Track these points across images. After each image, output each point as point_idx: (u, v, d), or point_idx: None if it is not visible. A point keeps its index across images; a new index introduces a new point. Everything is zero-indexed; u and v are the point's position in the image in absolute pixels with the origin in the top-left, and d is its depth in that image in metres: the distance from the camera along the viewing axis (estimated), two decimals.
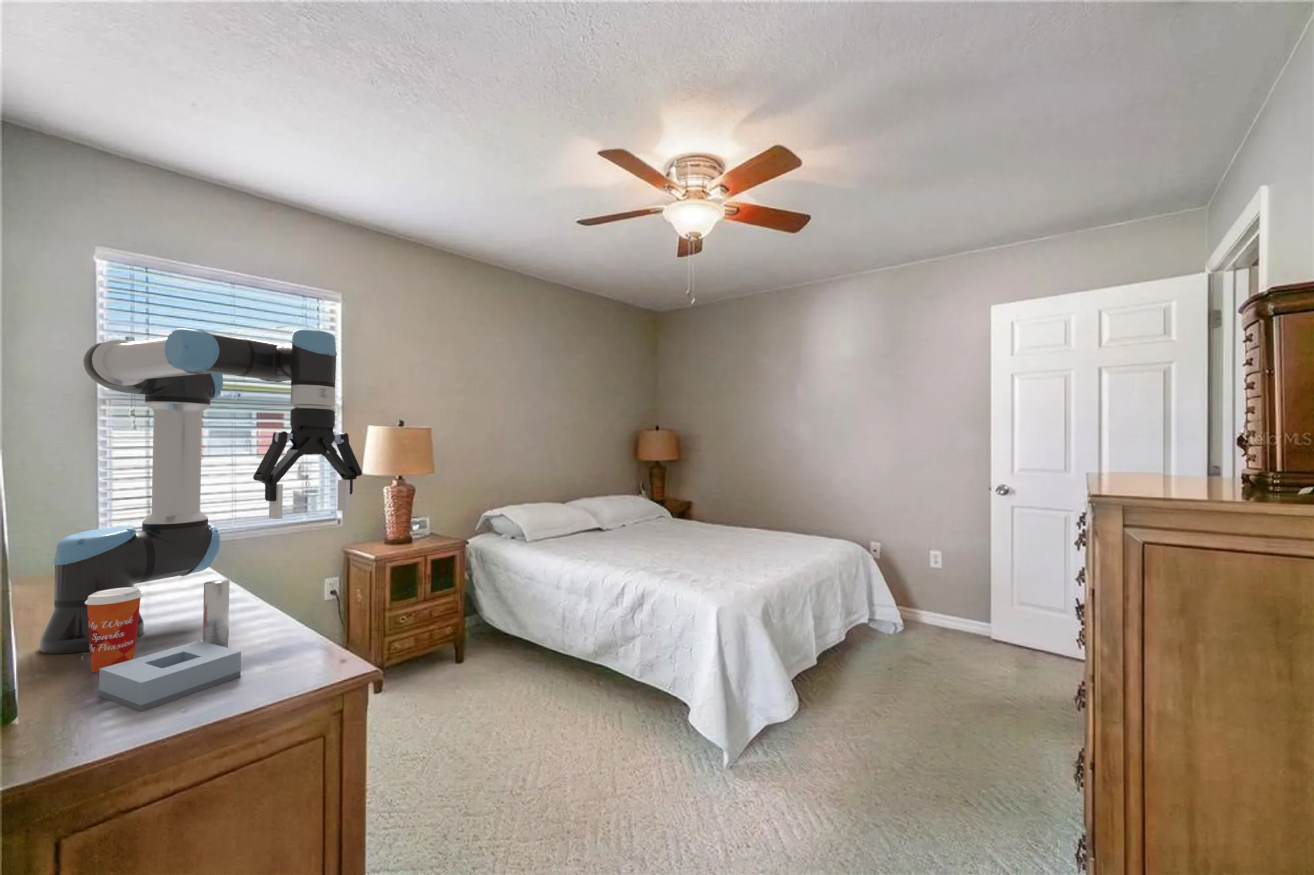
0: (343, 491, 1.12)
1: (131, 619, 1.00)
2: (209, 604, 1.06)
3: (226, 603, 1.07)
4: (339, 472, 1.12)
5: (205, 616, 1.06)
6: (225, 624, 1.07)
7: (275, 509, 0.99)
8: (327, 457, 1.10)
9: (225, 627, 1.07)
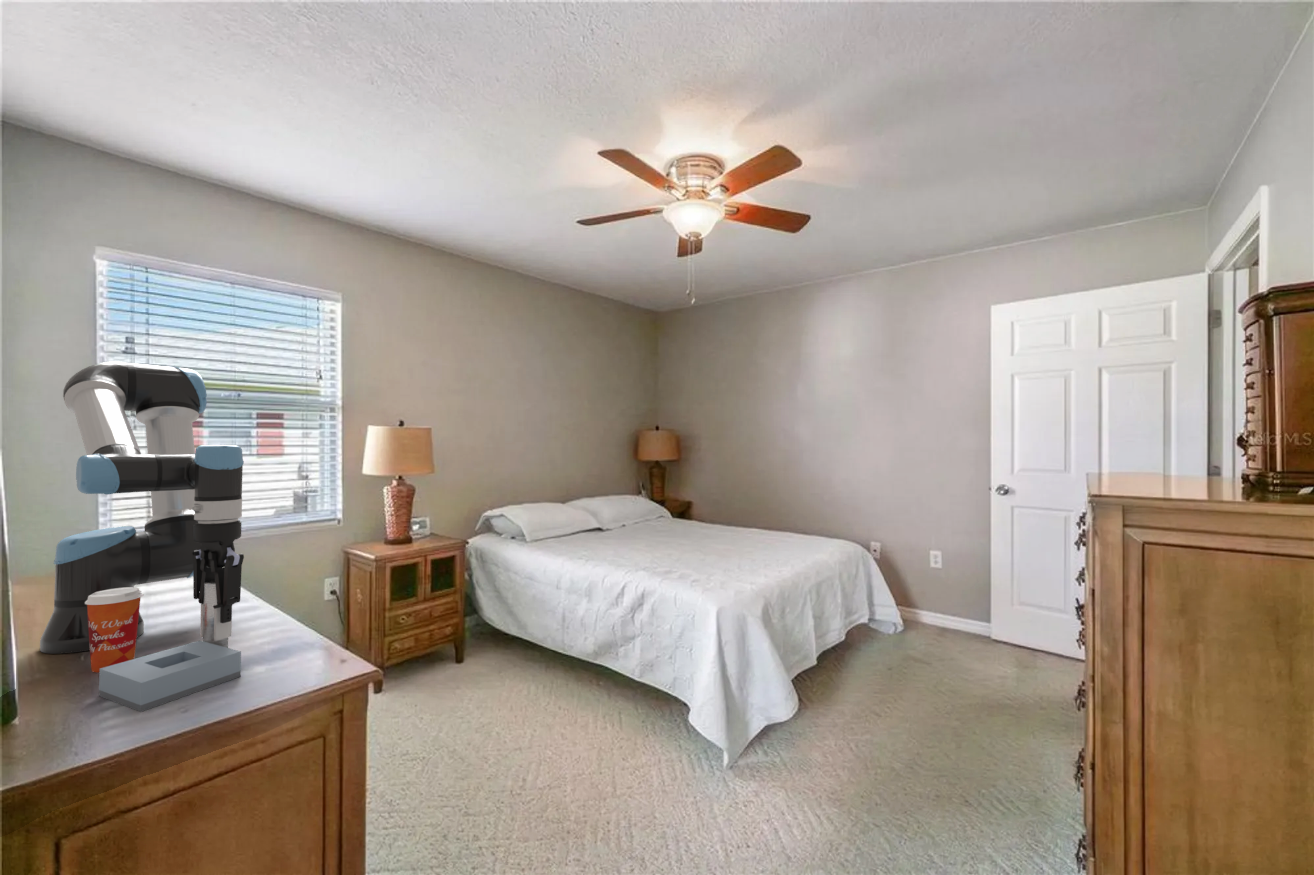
0: None
1: (130, 619, 1.00)
2: (209, 603, 1.06)
3: None
4: None
5: (205, 616, 1.06)
6: None
7: None
8: None
9: None
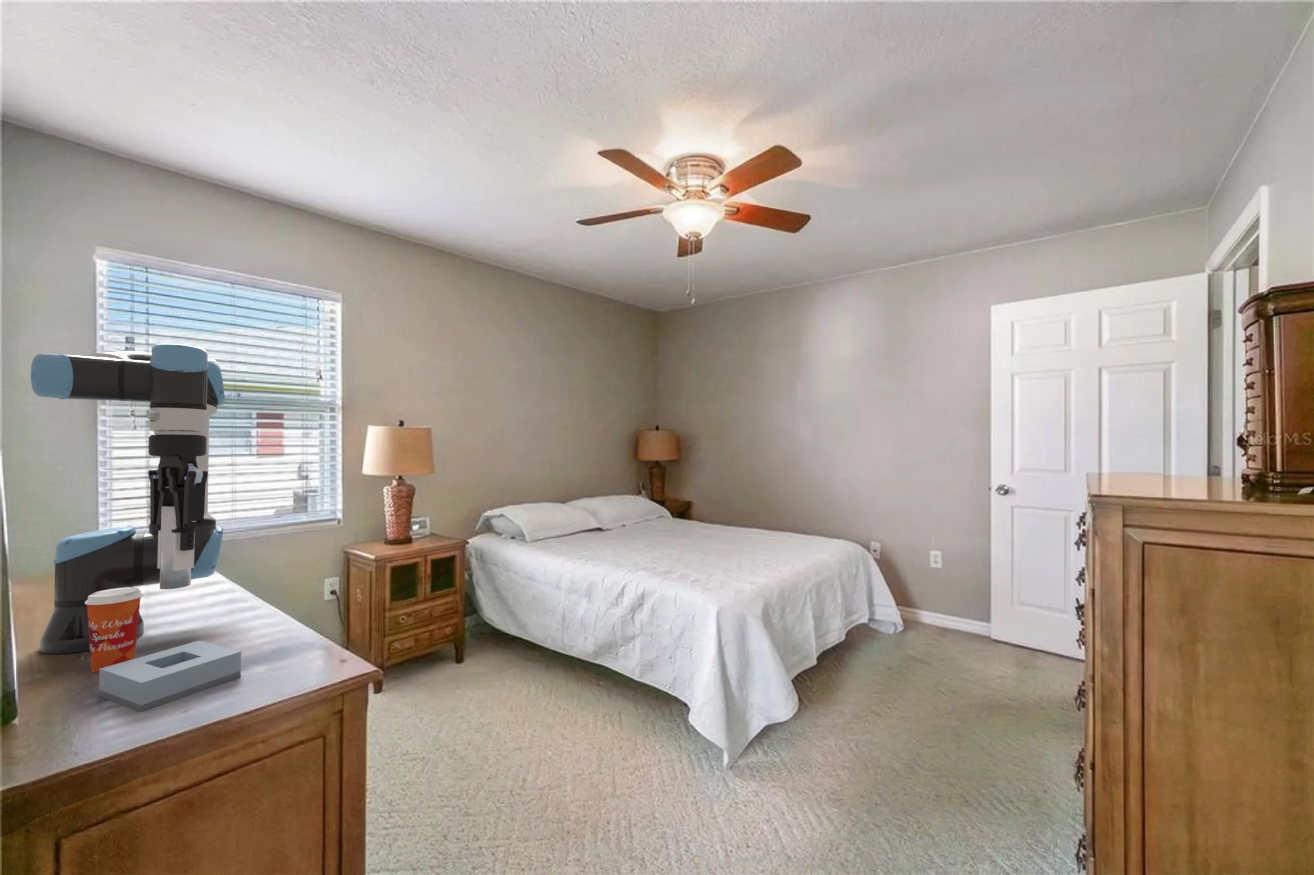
0: None
1: (130, 619, 1.00)
2: (167, 529, 0.91)
3: None
4: None
5: (162, 544, 0.91)
6: None
7: None
8: None
9: None
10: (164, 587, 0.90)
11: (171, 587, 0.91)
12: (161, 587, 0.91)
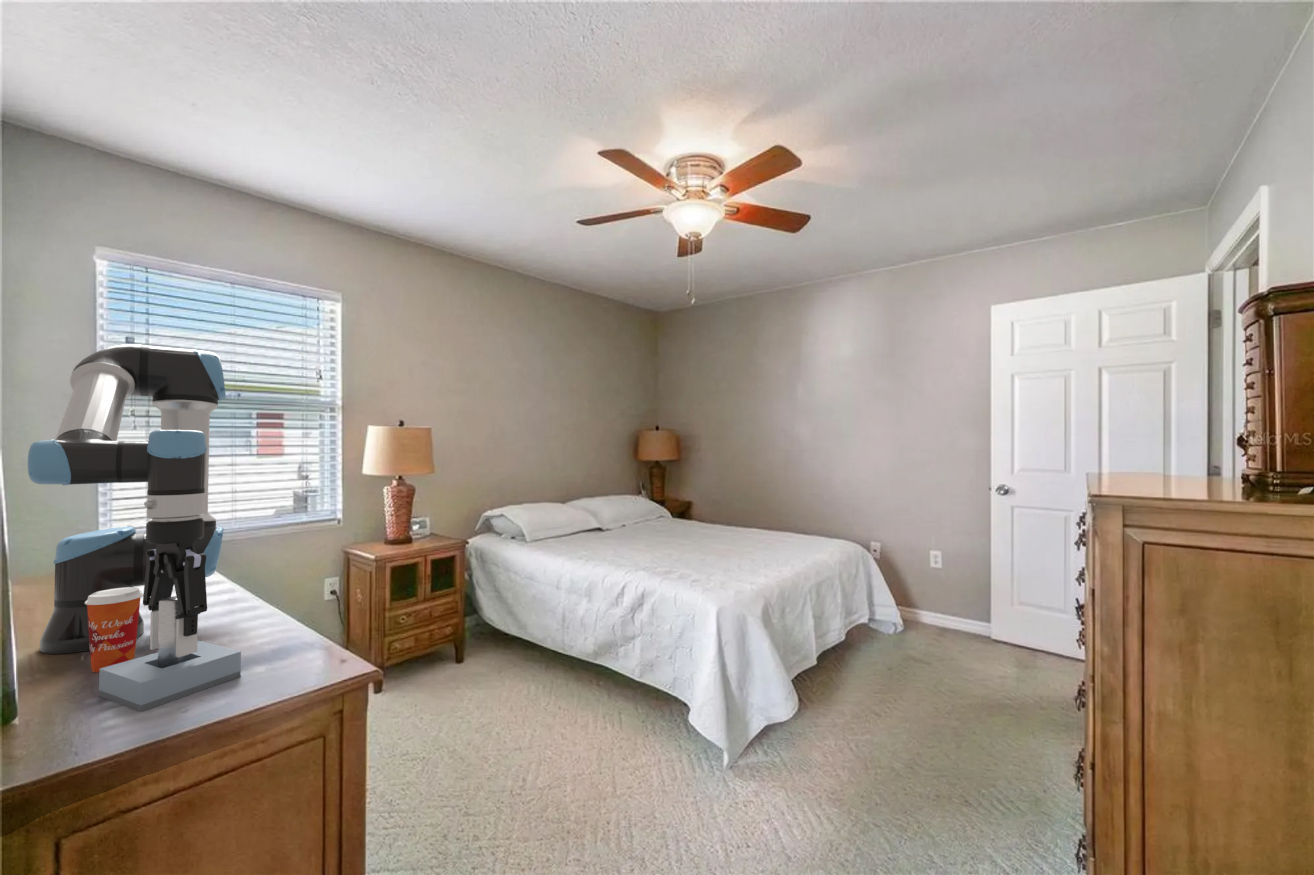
0: None
1: (130, 619, 1.00)
2: (165, 625, 0.90)
3: None
4: None
5: (160, 639, 0.90)
6: None
7: None
8: None
9: None
10: None
11: None
12: None
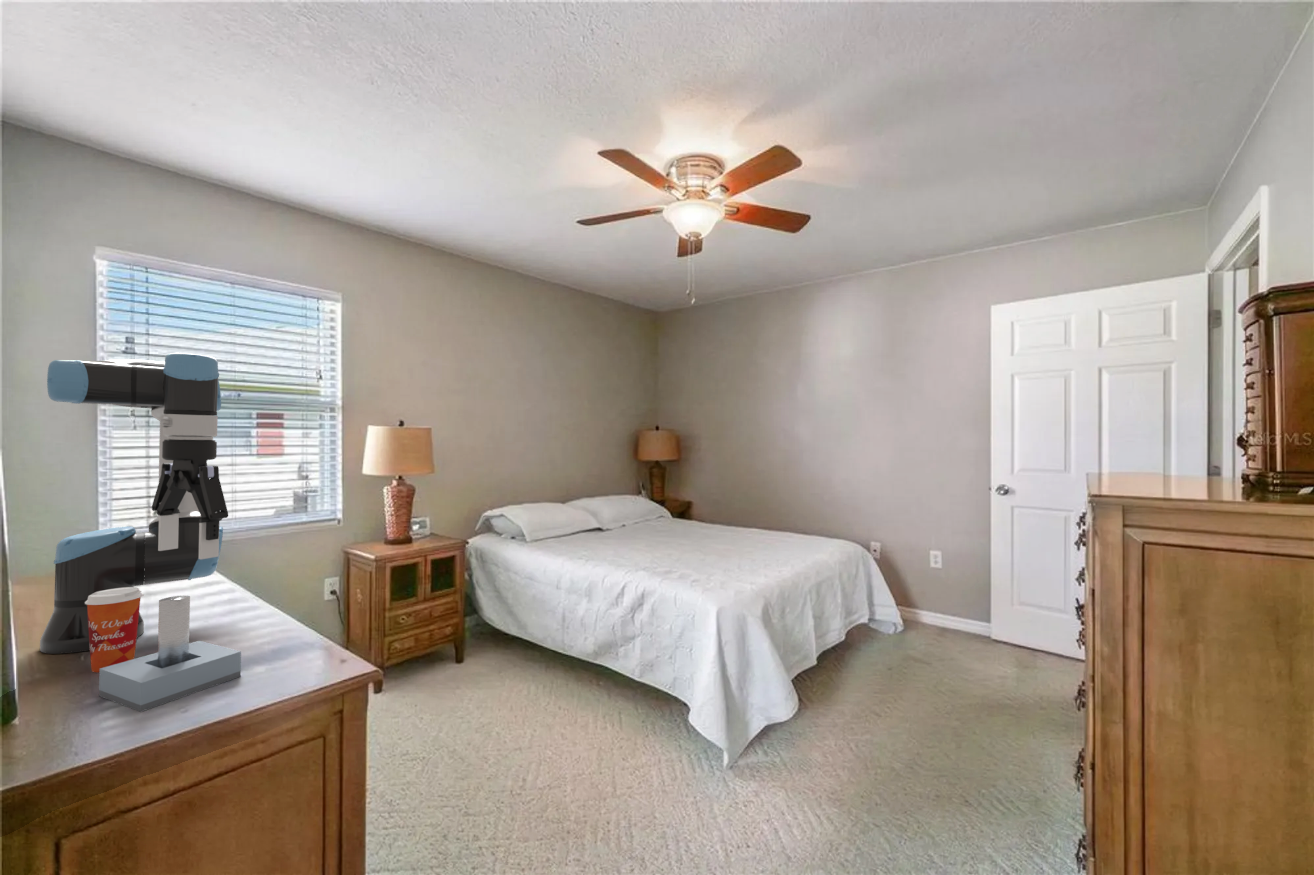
0: None
1: (131, 619, 1.00)
2: (165, 624, 0.90)
3: (185, 623, 0.92)
4: None
5: (160, 639, 0.90)
6: (184, 648, 0.92)
7: None
8: None
9: (184, 651, 0.92)
10: None
11: None
12: None
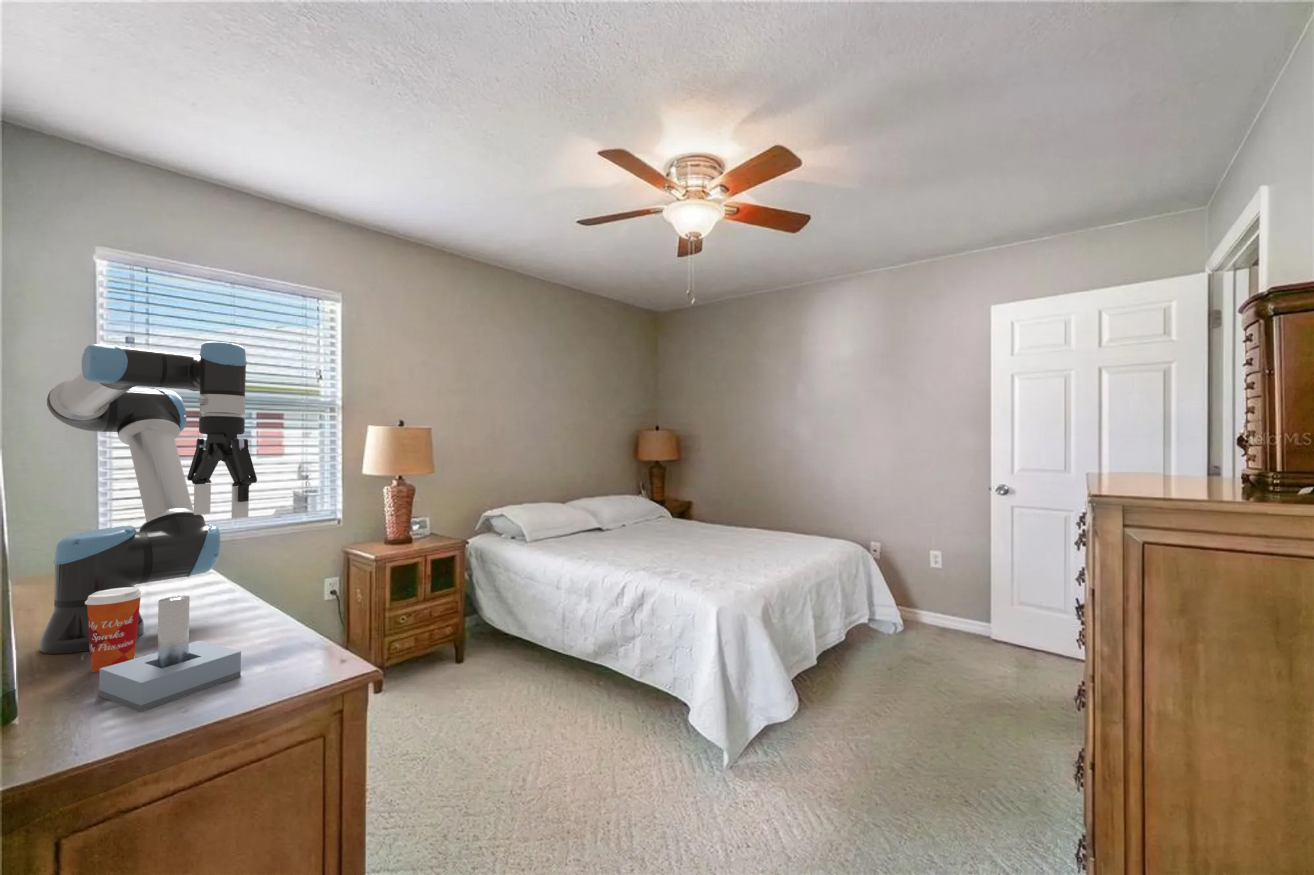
0: None
1: (130, 619, 1.00)
2: (164, 625, 0.90)
3: (185, 623, 0.92)
4: None
5: (160, 639, 0.90)
6: (184, 648, 0.92)
7: None
8: None
9: (184, 651, 0.92)
10: None
11: None
12: None
